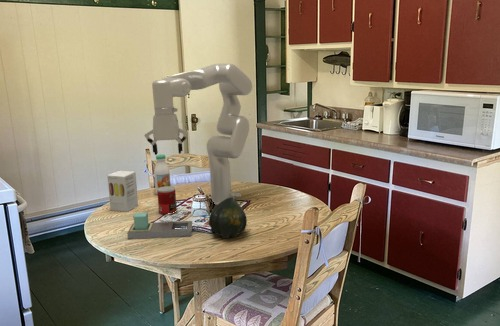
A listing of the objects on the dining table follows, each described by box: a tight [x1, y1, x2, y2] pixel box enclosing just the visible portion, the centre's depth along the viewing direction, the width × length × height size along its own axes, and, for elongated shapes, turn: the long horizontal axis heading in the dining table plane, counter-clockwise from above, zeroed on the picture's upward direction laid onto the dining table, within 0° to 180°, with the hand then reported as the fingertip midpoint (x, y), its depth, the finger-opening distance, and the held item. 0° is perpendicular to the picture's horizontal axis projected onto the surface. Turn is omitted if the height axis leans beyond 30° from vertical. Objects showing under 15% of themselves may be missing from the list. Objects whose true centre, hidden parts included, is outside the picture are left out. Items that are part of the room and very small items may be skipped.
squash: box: [208, 197, 248, 239], centre depth 167 cm, size 14×15×15 cm
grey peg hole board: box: [127, 220, 193, 240], centre depth 171 cm, size 24×10×3 cm, turn 93°
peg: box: [133, 212, 150, 230], centre depth 170 cm, size 4×4×8 cm
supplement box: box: [107, 170, 139, 213], centre depth 199 cm, size 10×9×17 cm
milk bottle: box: [153, 154, 172, 196], centre depth 220 cm, size 8×8×20 cm
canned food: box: [156, 186, 177, 216], centre depth 193 cm, size 8×8×11 cm
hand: (168, 153), depth 176 cm, fingers open, 9 cm apart
